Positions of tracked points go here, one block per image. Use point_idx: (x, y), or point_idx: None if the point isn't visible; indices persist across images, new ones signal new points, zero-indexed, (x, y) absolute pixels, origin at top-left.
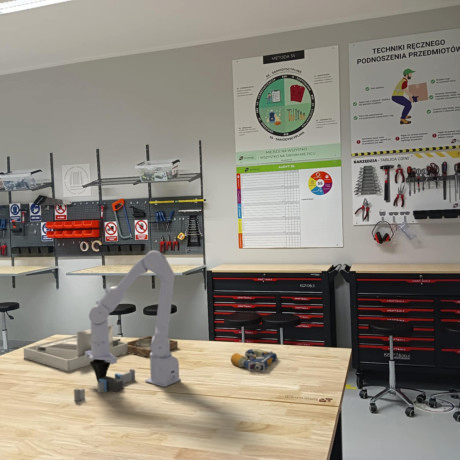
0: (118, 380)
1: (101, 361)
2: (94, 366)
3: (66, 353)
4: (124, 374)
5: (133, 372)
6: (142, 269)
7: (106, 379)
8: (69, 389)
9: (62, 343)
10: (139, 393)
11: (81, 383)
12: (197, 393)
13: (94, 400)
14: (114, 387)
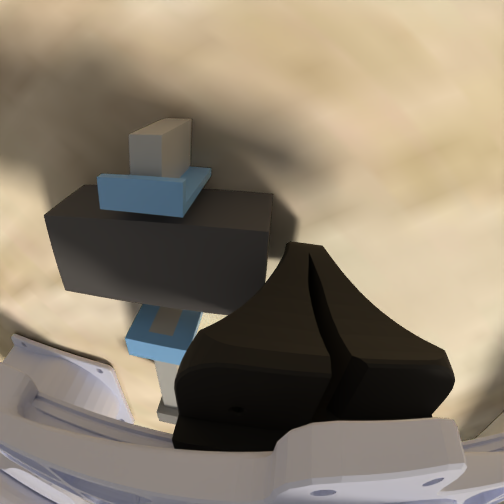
0: (79, 276)
1: (230, 431)
2: (342, 333)
3: None
4: (158, 371)
5: (161, 404)
6: None
7: (178, 256)
8: (474, 79)
9: None
10: (3, 245)
11: (471, 216)
12: None
13: (85, 11)
14: (64, 200)
